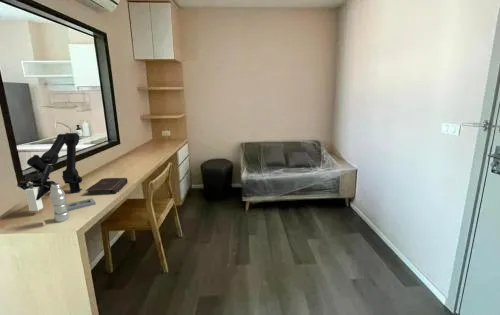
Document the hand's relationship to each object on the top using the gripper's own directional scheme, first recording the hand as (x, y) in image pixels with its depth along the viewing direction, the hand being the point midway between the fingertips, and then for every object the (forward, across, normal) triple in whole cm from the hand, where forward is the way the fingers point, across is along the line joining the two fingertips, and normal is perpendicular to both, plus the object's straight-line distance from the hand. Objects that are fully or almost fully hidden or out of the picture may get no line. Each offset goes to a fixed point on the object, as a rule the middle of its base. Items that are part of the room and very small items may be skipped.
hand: (32, 199), depth 147 cm
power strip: (+1, +19, +12) cm, 22 cm away
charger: (+3, 0, +5) cm, 6 cm away
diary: (-20, +21, +33) cm, 44 cm away
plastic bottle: (+12, +20, 0) cm, 24 cm away
